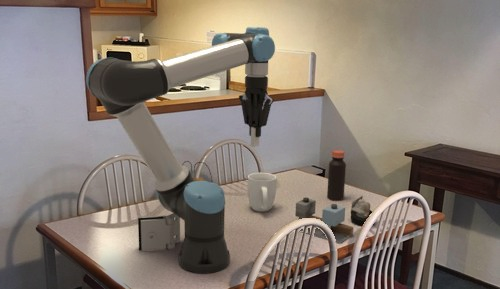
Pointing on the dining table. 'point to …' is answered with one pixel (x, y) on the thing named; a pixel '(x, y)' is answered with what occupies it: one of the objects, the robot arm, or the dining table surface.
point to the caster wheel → (360, 211)
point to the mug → (261, 191)
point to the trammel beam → (307, 210)
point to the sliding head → (333, 215)
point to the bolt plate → (338, 235)
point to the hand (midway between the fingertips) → (254, 145)
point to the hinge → (158, 232)
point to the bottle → (336, 176)
